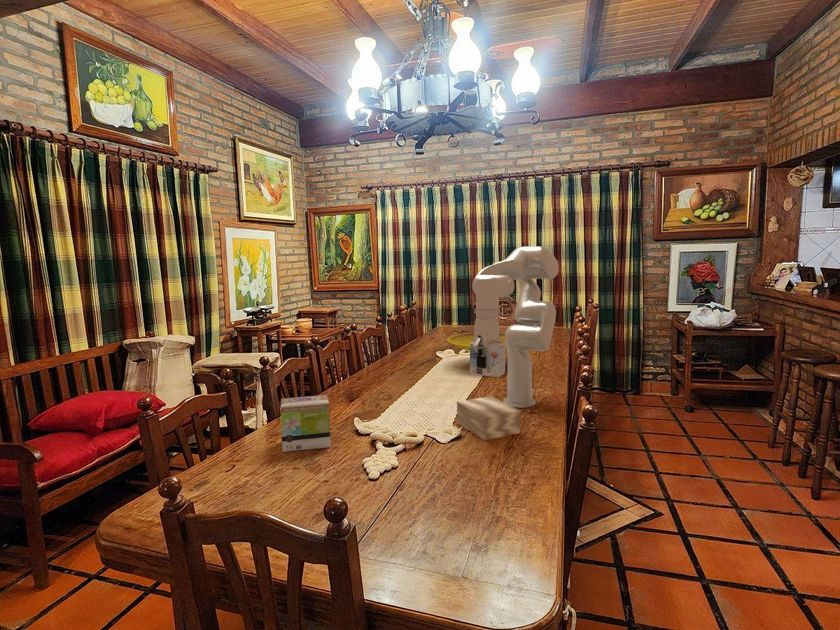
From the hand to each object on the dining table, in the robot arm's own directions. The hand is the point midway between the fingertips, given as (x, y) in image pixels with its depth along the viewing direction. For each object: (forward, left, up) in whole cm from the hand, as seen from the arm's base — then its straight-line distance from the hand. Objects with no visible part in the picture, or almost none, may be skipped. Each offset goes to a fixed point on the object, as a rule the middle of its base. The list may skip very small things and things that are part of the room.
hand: (487, 365), depth 161 cm
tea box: (+46, -40, -22) cm, 65 cm away
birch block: (0, 0, -22) cm, 22 cm away
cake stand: (-73, -44, -22) cm, 88 cm away
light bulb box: (0, 0, -3) cm, 3 cm away
